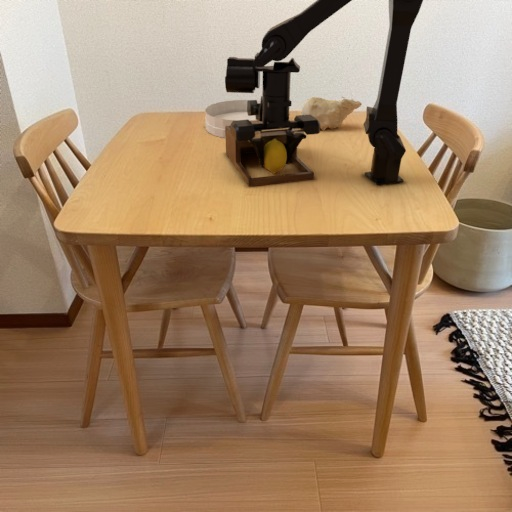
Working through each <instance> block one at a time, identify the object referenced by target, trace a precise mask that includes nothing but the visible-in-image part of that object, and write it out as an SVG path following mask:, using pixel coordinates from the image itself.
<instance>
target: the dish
mask: <svg viewBox="0 0 512 512" xmlns="http://www.w3.org/2000/svg"><path fill="white" fill-rule="evenodd" d="M248 100H249V99H234V100H232V99H231V100H225V101H218V102H216V103H213V104H210V105H208V106H207V107H206V108H205V109H204V112H205V113H204V114H205V118H204V124H205V131H206V132H207V133H208V134H210V135H212V136H215V137H219V138H222V139H226V135H225V126H230V125H231V123H232V122H233V121H236V120H249V121H250V122H251V123H252V124H256V123H262V121H259V120H256V115H252V116H248V113H247V101H248ZM260 102H261V100H257V103H258V104H260Z"/></svg>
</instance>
